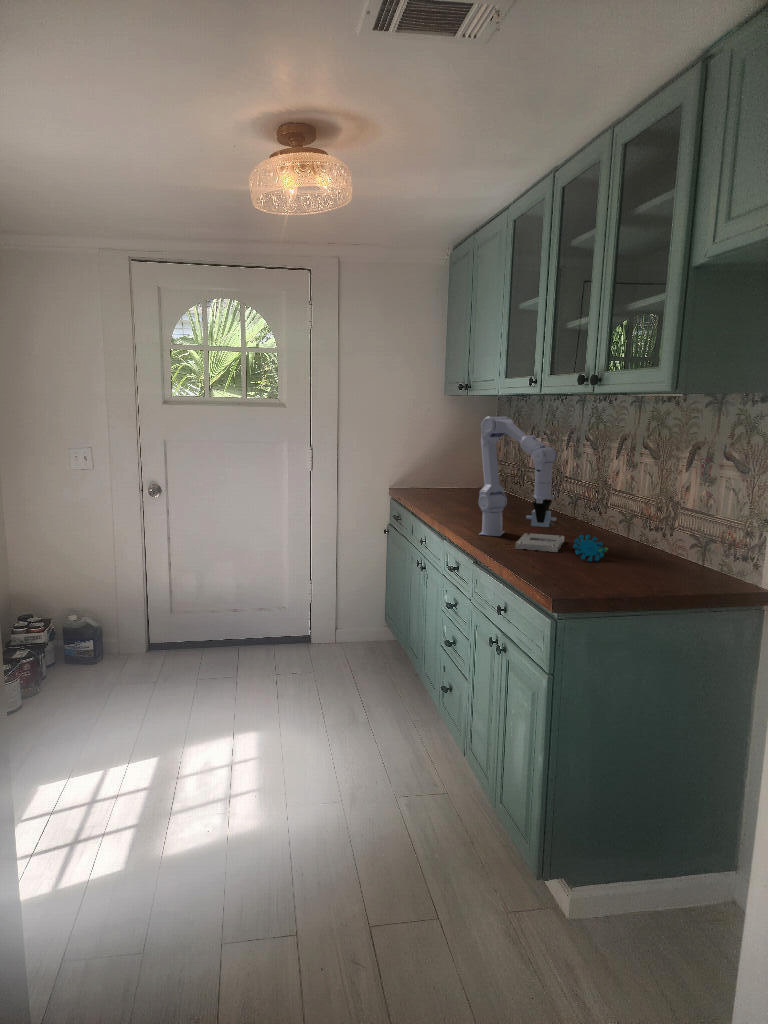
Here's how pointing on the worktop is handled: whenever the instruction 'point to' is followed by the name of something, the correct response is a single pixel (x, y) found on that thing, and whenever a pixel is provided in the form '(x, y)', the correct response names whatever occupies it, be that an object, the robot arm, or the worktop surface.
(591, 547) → the gear
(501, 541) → the worktop surface
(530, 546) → the plate
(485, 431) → the robot arm
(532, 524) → the servo
